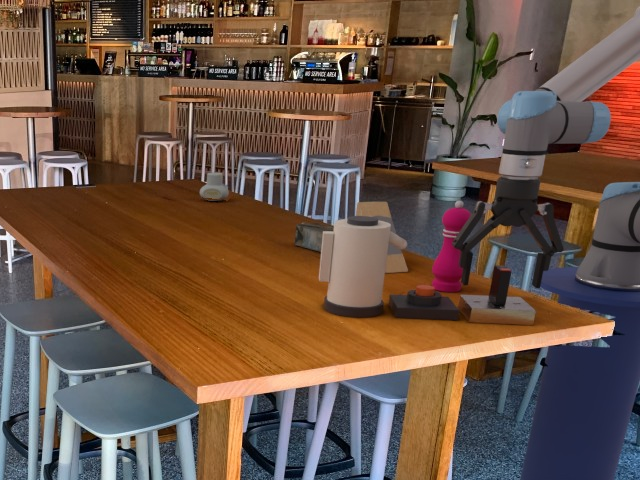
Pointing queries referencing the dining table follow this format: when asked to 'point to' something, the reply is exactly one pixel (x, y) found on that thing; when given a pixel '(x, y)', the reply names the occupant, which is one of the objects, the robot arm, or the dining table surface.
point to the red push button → (425, 290)
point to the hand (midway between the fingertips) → (499, 285)
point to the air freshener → (214, 187)
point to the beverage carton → (310, 235)
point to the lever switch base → (496, 310)
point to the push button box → (423, 306)
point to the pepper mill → (450, 251)
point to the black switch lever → (499, 285)
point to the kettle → (356, 265)
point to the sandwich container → (382, 213)
